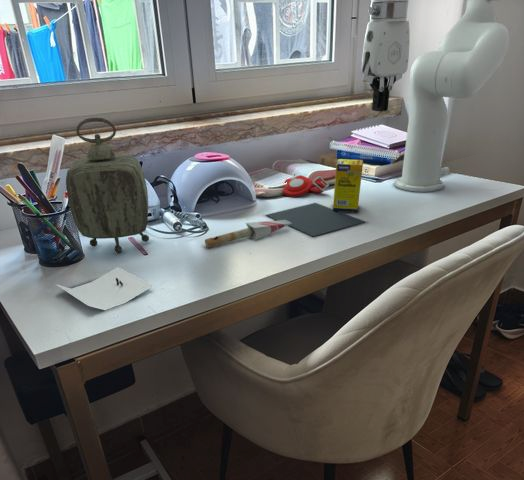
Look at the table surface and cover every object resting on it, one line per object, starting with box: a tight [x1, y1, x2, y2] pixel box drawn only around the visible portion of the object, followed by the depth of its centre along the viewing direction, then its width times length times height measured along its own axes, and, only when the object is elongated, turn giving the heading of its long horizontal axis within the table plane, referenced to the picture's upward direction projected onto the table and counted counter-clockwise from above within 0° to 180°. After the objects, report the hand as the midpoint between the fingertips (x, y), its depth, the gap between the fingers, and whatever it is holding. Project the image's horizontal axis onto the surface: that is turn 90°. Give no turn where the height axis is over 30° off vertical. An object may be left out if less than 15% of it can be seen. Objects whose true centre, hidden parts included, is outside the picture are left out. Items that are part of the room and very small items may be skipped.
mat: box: [265, 202, 366, 238], centre depth 116 cm, size 15×18×1 cm
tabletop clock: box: [65, 117, 150, 254], centre depth 96 cm, size 14×9×25 cm, turn 100°
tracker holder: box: [281, 174, 330, 198], centre depth 133 cm, size 12×4×10 cm
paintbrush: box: [204, 220, 292, 249], centre depth 106 cm, size 4×3×20 cm
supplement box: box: [332, 158, 364, 213], centre depth 118 cm, size 6×6×11 cm
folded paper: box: [55, 266, 154, 311], centre depth 86 cm, size 12×12×2 cm
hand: (379, 110), depth 113 cm, fingers closed
